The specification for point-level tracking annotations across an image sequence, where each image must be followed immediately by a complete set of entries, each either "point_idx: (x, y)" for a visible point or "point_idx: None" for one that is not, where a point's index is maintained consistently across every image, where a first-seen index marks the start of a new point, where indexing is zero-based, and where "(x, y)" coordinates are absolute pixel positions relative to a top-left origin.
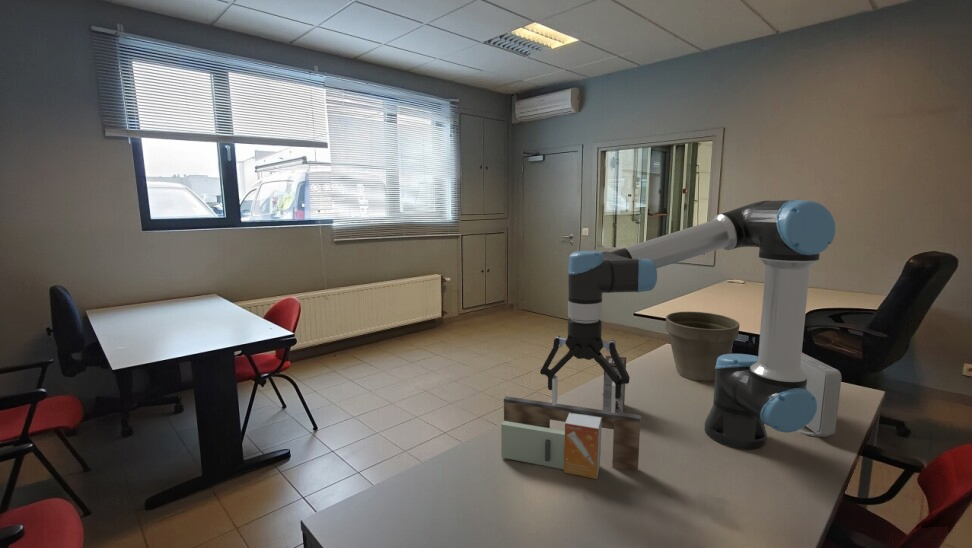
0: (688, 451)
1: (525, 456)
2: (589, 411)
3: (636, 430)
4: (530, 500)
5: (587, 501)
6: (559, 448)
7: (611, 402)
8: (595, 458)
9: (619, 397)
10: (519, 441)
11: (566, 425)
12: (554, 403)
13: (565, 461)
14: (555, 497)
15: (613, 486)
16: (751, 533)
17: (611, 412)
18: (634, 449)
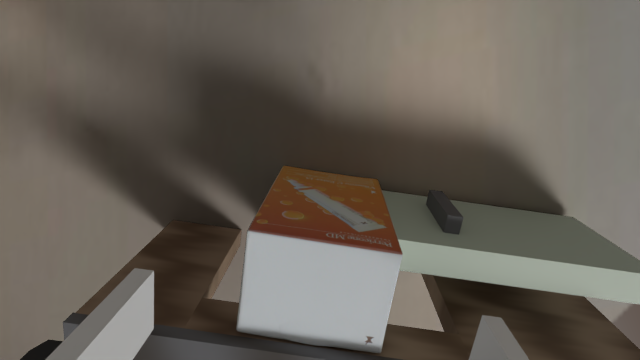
0: (47, 332)
1: (503, 212)
2: (288, 354)
3: (111, 291)
4: (478, 25)
5: (309, 56)
6: (403, 216)
7: (118, 309)
8: (279, 185)
9: (43, 344)
10: (549, 237)
11: (394, 246)
12: (490, 323)
13: (377, 189)
14: (402, 56)
15: (237, 142)
16: None
17: (151, 271)
18: (154, 253)
